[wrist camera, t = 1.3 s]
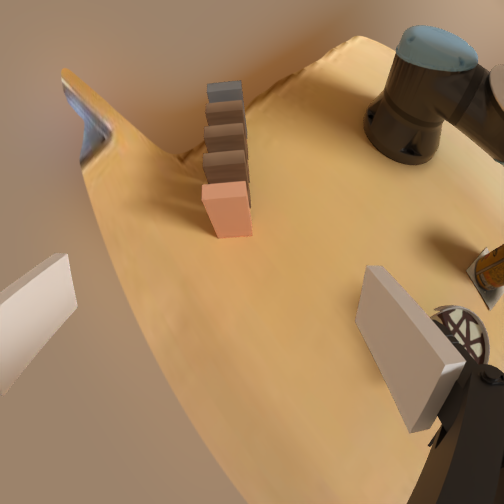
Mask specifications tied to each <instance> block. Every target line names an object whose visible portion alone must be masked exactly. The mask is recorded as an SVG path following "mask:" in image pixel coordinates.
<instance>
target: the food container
mask: <svg viewBox="0 0 504 504" xmlns="http://www.w3.org/2000/svg"><path fill="white" fill-rule="evenodd" d="M434 310H436V311H440V312H438V313H437V314H435V315H433V316H431V317H430V318H431V320H437V321H438V322H440V323H441V324H443V325H444V326H446V327H447V328H448V329H449V331H450V332H451V333H452V334H453V337H454V336H455V337H456V339H457V340H458V341H459V343H461V344H462V346H463V347H464V348H465V349H466V350H467V352H468V353H469V354H470V355H471V356H472V357H473V359H474V360H475V361H476V362H477V364H478V365H479V364H488V361H489V354H490V345H489V338H488V333H487V331H486V328H485V326H484V324H483V322H482V321H481V319H480V318H479V317H478V316H477V315H476V314H475V313H474V312H472V311H471V310H469V309H467V308H464V307H461V306H453V305H448V306H441V307H438V308H435V309H434Z"/></svg>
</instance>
